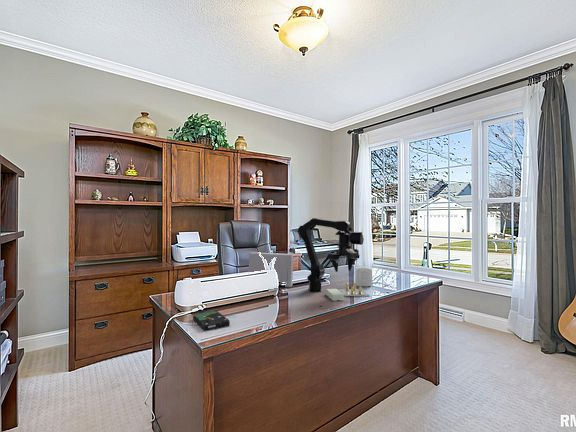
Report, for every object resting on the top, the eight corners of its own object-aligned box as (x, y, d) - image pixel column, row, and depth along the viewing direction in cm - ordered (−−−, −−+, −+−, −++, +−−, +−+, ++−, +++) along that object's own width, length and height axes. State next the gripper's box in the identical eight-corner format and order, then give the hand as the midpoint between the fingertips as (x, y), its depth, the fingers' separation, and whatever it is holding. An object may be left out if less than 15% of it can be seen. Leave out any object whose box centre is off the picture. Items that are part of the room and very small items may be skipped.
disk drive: (230, 327, 116) (216, 316, 129) (230, 320, 116) (216, 309, 129) (204, 333, 111) (192, 320, 123) (204, 325, 110) (192, 313, 123)
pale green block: (332, 301, 154) (333, 294, 154) (326, 295, 166) (326, 288, 166) (343, 301, 155) (344, 294, 155) (336, 294, 167) (336, 288, 167)
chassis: (344, 296, 162) (345, 287, 162) (338, 291, 174) (338, 282, 174) (369, 296, 164) (369, 287, 164) (361, 290, 176) (361, 282, 176)
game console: (290, 287, 181) (291, 255, 181) (248, 284, 186) (248, 253, 186) (292, 285, 186) (293, 253, 186) (251, 282, 192) (251, 252, 192)
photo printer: (371, 285, 190) (371, 266, 190) (372, 287, 186) (373, 267, 186) (355, 284, 191) (355, 265, 191) (356, 286, 187) (356, 266, 187)
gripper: (339, 245, 154) (339, 275, 154) (366, 244, 163) (365, 272, 163) (327, 243, 164) (326, 271, 164) (353, 242, 173) (352, 269, 173)
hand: (343, 271), depth 166 cm, fingers open, 9 cm apart
